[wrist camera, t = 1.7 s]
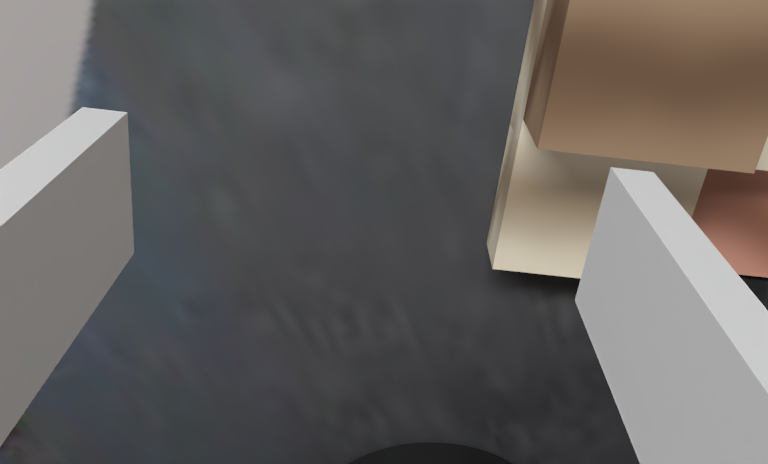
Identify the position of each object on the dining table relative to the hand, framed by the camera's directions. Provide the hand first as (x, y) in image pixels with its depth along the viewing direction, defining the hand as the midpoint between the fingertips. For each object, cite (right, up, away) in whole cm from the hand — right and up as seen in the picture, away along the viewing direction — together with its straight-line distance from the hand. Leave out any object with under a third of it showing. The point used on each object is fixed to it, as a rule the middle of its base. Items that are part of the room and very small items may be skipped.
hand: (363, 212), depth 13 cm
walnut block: (+10, +6, +15) cm, 20 cm away
